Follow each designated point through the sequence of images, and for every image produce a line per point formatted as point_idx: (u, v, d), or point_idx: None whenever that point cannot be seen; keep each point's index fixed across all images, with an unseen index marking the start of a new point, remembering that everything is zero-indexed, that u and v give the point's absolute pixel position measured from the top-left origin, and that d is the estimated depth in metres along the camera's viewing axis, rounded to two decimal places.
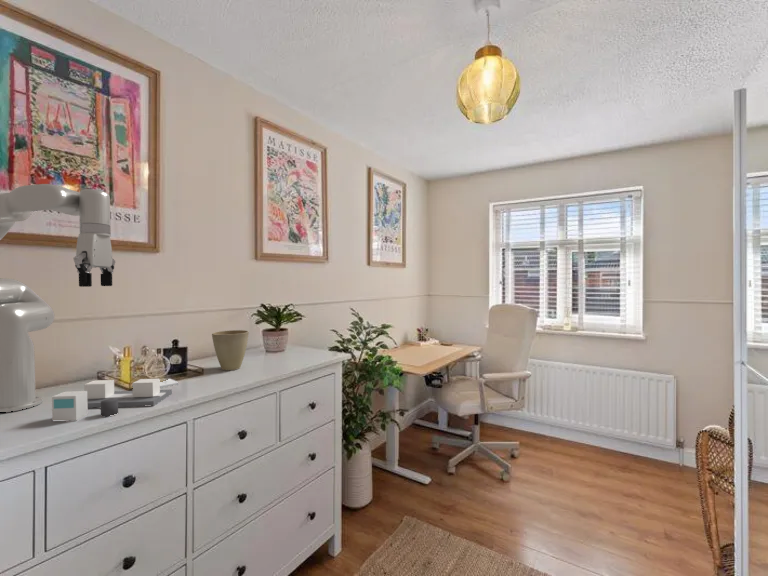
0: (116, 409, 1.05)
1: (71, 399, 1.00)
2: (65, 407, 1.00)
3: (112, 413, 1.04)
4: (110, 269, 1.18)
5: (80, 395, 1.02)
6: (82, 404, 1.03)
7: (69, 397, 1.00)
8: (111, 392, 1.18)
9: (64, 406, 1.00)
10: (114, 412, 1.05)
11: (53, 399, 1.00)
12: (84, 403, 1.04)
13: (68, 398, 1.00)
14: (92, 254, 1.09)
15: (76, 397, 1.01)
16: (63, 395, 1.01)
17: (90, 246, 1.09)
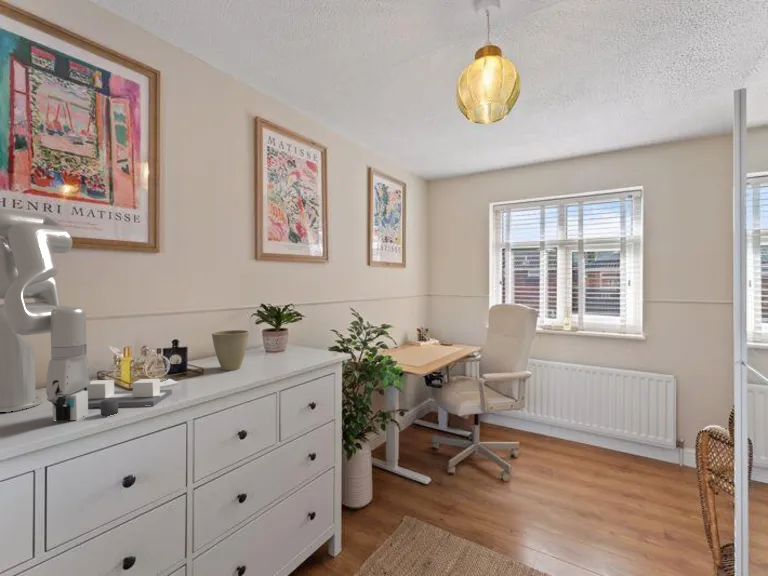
0: (116, 409, 1.05)
1: (72, 399, 1.00)
2: None
3: (112, 413, 1.04)
4: None
5: (80, 395, 1.02)
6: (82, 404, 1.03)
7: (70, 397, 1.00)
8: (111, 392, 1.18)
9: None
10: (114, 412, 1.05)
11: None
12: (84, 403, 1.04)
13: (69, 398, 1.00)
14: (64, 383, 0.98)
15: (77, 397, 1.01)
16: None
17: (62, 374, 0.98)
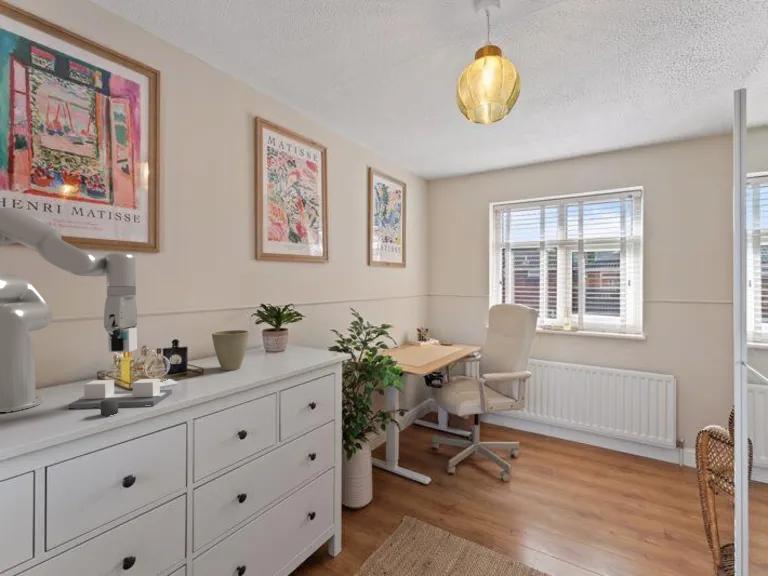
0: (116, 409, 1.05)
1: (125, 332, 1.15)
2: None
3: (112, 413, 1.04)
4: None
5: (132, 330, 1.17)
6: (133, 338, 1.17)
7: (123, 330, 1.15)
8: (111, 392, 1.18)
9: None
10: (114, 412, 1.05)
11: None
12: (134, 338, 1.18)
13: (122, 331, 1.15)
14: (119, 317, 1.12)
15: (129, 331, 1.15)
16: None
17: (117, 309, 1.12)
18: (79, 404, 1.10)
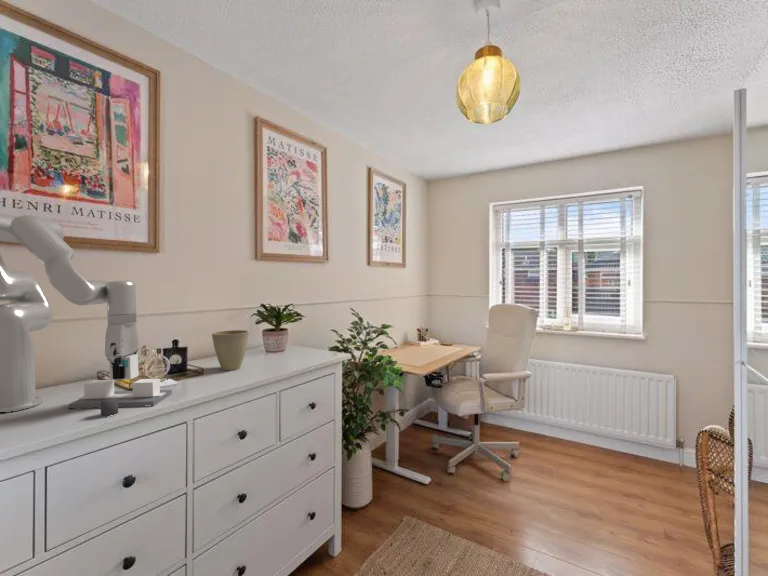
0: (116, 409, 1.05)
1: (126, 360, 1.15)
2: None
3: (112, 413, 1.04)
4: None
5: (133, 357, 1.17)
6: (134, 365, 1.18)
7: (124, 358, 1.15)
8: (111, 392, 1.18)
9: None
10: (114, 412, 1.05)
11: None
12: (136, 364, 1.18)
13: None
14: (120, 345, 1.12)
15: (130, 358, 1.15)
16: None
17: (118, 338, 1.12)
18: (79, 404, 1.10)
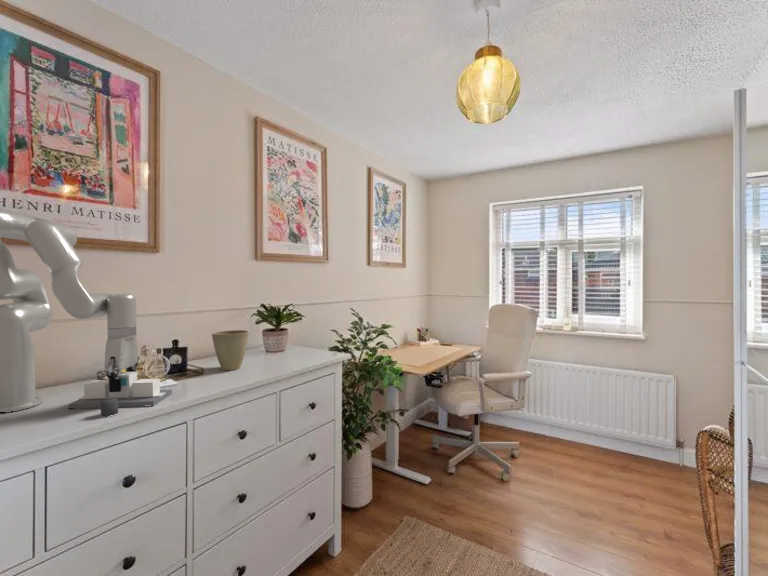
0: (116, 409, 1.05)
1: (125, 378, 1.15)
2: None
3: (112, 413, 1.04)
4: (134, 368, 1.21)
5: (132, 375, 1.17)
6: None
7: (123, 376, 1.15)
8: None
9: None
10: (114, 412, 1.05)
11: None
12: None
13: (122, 377, 1.15)
14: (120, 359, 1.12)
15: (129, 376, 1.16)
16: None
17: (118, 351, 1.12)
18: (79, 404, 1.10)
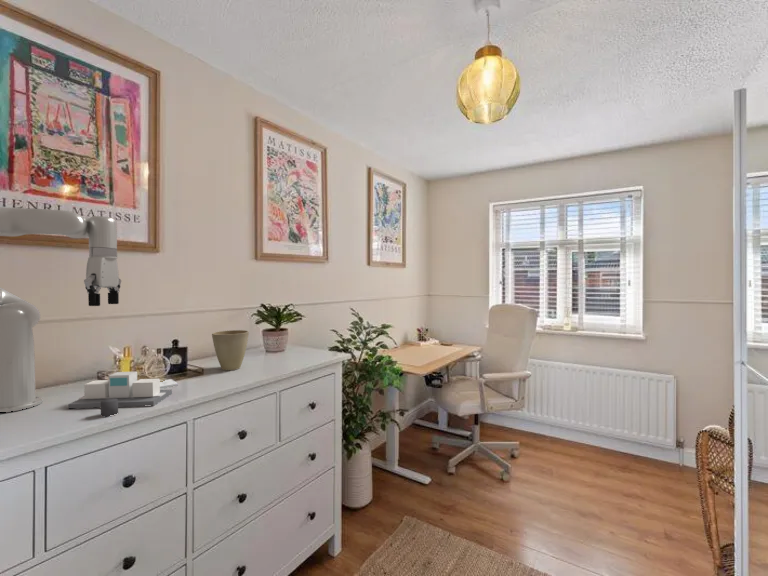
0: (116, 409, 1.05)
1: (125, 378, 1.15)
2: (120, 385, 1.15)
3: (112, 413, 1.04)
4: (117, 288, 1.28)
5: (132, 375, 1.17)
6: None
7: (123, 376, 1.15)
8: None
9: (119, 384, 1.15)
10: (114, 412, 1.05)
11: (109, 378, 1.15)
12: None
13: (122, 377, 1.15)
14: (100, 276, 1.19)
15: (129, 376, 1.16)
16: (118, 374, 1.16)
17: (99, 269, 1.19)
18: (79, 404, 1.10)
